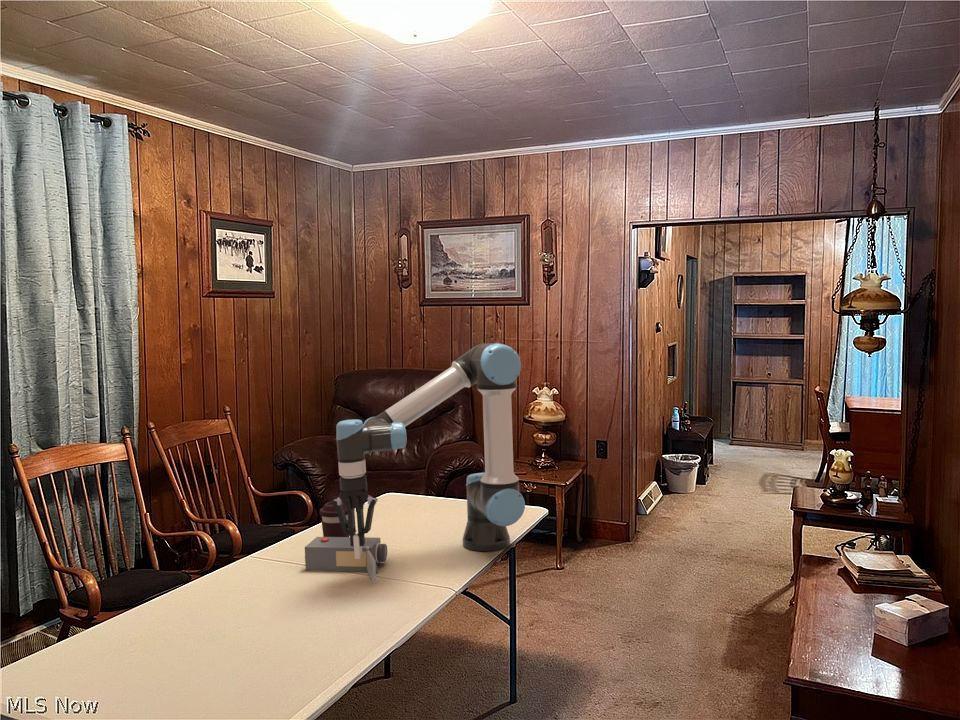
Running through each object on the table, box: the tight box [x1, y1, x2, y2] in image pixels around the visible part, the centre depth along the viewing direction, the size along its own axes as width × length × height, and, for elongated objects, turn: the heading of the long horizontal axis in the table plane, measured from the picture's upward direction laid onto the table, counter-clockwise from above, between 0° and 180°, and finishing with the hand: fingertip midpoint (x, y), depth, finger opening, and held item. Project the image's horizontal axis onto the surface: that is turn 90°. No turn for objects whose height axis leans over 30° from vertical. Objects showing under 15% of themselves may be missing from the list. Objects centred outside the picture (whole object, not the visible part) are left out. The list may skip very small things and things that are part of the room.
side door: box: [366, 550, 379, 583], centre depth 202 cm, size 10×1×6 cm, turn 19°
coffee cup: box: [319, 501, 350, 537], centre depth 229 cm, size 10×10×15 cm
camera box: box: [304, 536, 388, 573], centre depth 213 cm, size 22×11×8 cm, turn 82°
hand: (358, 557), depth 203 cm, fingers closed
